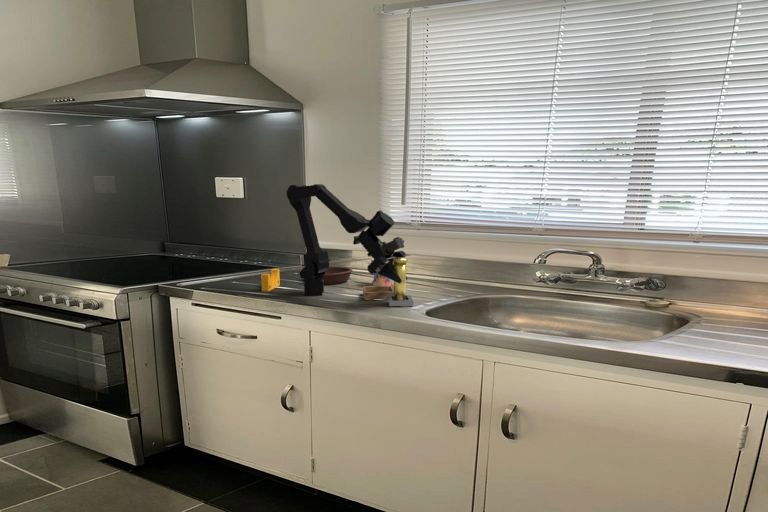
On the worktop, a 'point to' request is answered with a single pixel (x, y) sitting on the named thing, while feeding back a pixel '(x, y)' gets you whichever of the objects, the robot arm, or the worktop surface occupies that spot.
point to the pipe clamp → (270, 280)
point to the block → (400, 301)
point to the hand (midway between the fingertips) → (403, 281)
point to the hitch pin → (401, 271)
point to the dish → (336, 275)
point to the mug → (381, 279)
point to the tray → (377, 292)
